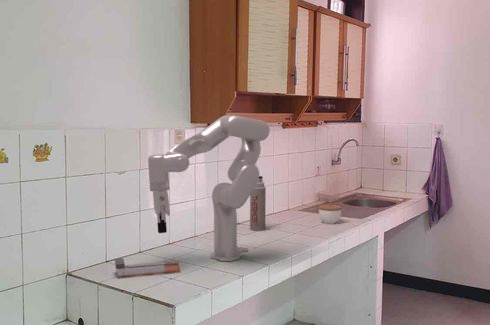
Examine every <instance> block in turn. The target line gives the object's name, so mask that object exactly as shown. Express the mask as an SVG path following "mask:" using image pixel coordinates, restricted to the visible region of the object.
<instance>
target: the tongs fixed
mask: <svg viewBox="0 0 490 325" xmlns="http://www.w3.org/2000/svg"><path fill="white" fill-rule="evenodd" d="M169 272H178V265H177V264H167V265H156V266H145V267H134V268H121V269H117V271H116V276H117V278H118V277H125V276H136V275H147V274H157V273H169Z"/></svg>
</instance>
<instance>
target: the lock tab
mask: <svg viewBox="0 0 490 325" xmlns="http://www.w3.org/2000/svg"><path fill="white" fill-rule="evenodd" d="M125 264H126V263H125V260H124V258H114V265H115V270H116V269H121V268H125V266H126V265H125Z"/></svg>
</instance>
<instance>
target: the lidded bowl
mask: <svg viewBox="0 0 490 325" xmlns="http://www.w3.org/2000/svg"><path fill="white" fill-rule="evenodd" d="M342 209H343V207H342V205H338V204H332V202H329V203H327V204H320V205H318V215H319V218H320V220H321V221H322V222H323V224H327V225H334V224H337V222H338V221H339V220H340V219H341V216H342Z"/></svg>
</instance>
